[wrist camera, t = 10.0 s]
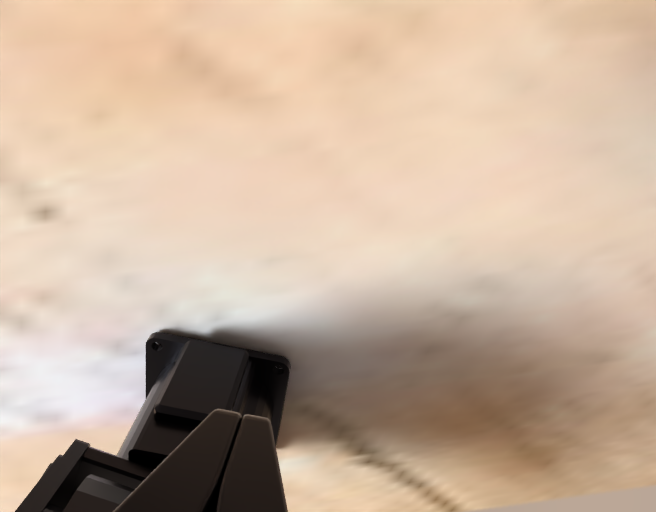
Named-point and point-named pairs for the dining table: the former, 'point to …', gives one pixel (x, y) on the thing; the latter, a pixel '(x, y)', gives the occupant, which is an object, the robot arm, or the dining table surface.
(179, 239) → the dining table surface
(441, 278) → the dining table surface
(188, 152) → the dining table surface
